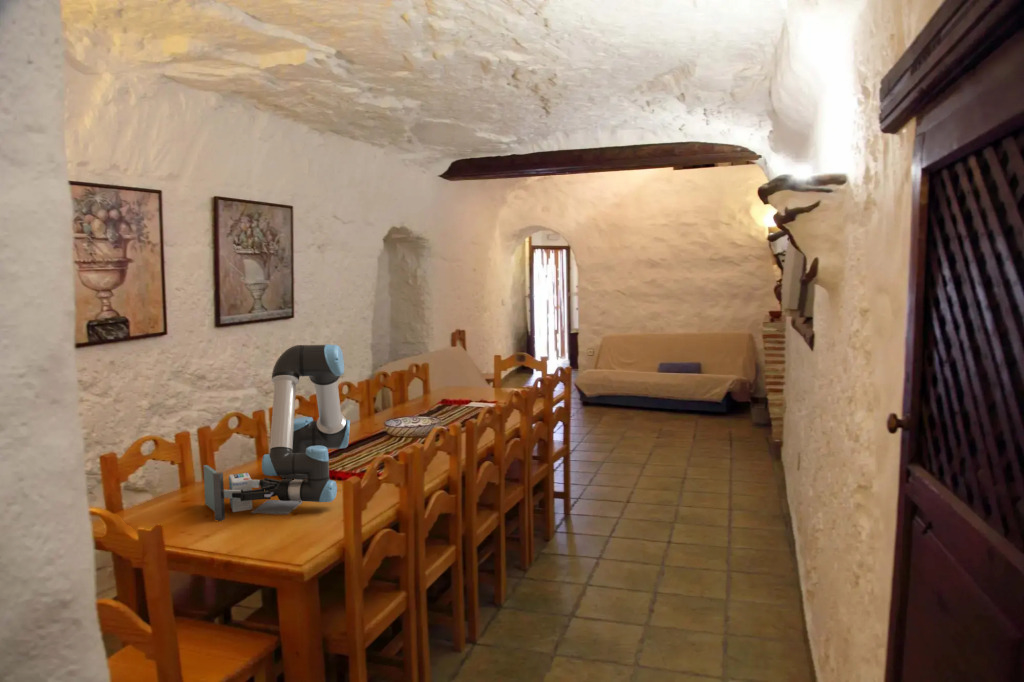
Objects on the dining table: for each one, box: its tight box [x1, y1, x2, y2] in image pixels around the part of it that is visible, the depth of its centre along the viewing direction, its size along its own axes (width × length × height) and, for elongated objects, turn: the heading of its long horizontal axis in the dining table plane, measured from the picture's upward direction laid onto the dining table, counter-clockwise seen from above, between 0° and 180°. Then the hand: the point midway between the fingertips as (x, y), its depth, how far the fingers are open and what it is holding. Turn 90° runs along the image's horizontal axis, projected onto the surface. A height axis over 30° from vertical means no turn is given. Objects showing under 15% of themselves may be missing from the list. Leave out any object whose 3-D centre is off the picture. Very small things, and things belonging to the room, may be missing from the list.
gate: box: [203, 464, 218, 513], centre depth 248 cm, size 18×1×14 cm, turn 39°
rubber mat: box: [251, 499, 304, 516], centre depth 252 cm, size 13×13×1 cm
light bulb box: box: [228, 472, 253, 513], centre depth 253 cm, size 11×7×11 cm, turn 27°
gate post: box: [213, 471, 226, 522], centre depth 239 cm, size 2×2×16 cm
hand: (233, 488), depth 253 cm, fingers closed on light bulb box, 12 cm apart
